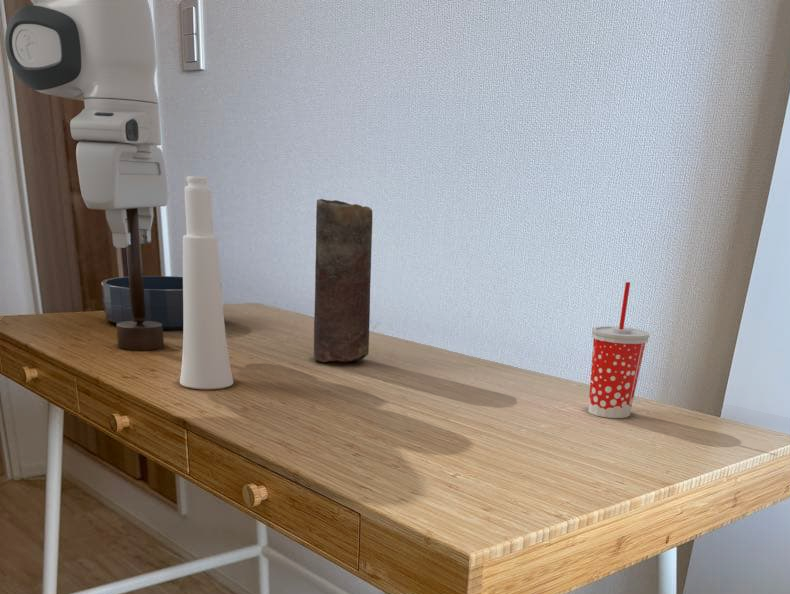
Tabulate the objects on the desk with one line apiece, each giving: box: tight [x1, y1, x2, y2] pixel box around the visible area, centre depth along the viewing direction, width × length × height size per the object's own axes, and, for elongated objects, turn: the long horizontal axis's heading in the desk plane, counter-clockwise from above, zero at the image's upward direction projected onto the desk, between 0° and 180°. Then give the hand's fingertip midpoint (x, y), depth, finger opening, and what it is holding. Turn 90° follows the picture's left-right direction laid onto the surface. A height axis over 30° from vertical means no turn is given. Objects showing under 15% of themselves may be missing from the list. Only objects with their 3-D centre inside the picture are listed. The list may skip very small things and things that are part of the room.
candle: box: [313, 198, 374, 363], centre depth 108 cm, size 8×7×20 cm
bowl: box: [100, 275, 223, 330], centre depth 133 cm, size 18×18×6 cm
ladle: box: [115, 208, 164, 351], centre depth 111 cm, size 6×6×19 cm
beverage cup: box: [587, 281, 651, 419], centre depth 90 cm, size 6×6×14 cm
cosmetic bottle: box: [179, 175, 234, 391], centre depth 92 cm, size 6×6×22 cm
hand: (133, 245), depth 109 cm, fingers open, 6 cm apart
